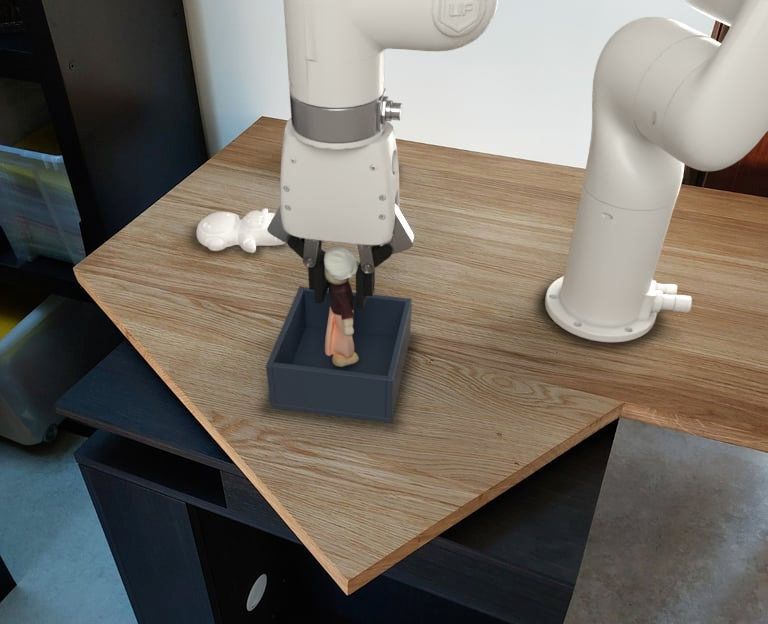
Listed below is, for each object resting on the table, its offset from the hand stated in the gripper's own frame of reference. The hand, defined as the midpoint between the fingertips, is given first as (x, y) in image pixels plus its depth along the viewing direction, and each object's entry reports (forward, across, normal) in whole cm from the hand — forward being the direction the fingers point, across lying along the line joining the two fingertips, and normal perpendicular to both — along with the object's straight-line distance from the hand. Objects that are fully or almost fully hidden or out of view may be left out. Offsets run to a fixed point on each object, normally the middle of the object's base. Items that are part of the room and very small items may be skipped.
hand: (342, 295), depth 75 cm
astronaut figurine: (+10, +18, -24) cm, 32 cm away
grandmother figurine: (+8, 0, 0) cm, 8 cm away
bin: (+10, 0, 0) cm, 10 cm away
